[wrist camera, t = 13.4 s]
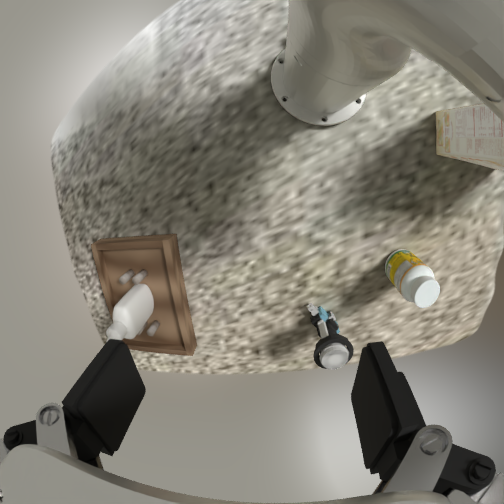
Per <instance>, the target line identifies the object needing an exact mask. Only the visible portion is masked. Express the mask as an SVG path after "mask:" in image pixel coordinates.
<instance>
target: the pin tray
mask: <svg viewBox="0 0 504 504" xmlns="http://www.w3.org/2000/svg"><path fill="white" fill-rule="evenodd" d="M91 248H92V252H93V257H94V261H95V265H96V269H97V272H98V276H99V280H100V283H101V287H102V290H103V293H104V297H105V300H106V303H107V306H108V309H109V312H110V315H111V318H112V321H113V310H114V307H115V305H116V304H117V303H118V302H119V301H120V300H121V298H122V297H123V296H124V295H125V294H126V293H127V292H128V291H129V290H130V289H131V288H132V287H133V286H134V285H138V284H146V285H147V286H148V287H149V289H150V291H151V293H152V296H153V300H154V309H153V313H152V314H151V316H150V317H149V319H148V320H147V321H146V323H145V324H144V326H143V327H142V328H141V330H140V331H139V333H138V334H137V335H136V336H135V338H133V339H126V338H123V340H122V341H124V343H125V344H126V345H127V346H128V348H129V349H132V350H139V351H147V352H156V353H165V354H176V355H188V356H193V354H194V351H195V349H196V346H197V342H196V338H195V333H194V329H193V324H192V319H191V315H190V310H189V305H188V300H187V294H186V289H185V284H184V278H183V272H182V266H181V260H180V254H179V248H178V241H177V234H164V235H148V236H133V237H118V238H105V239H100V240H98V241H96V242H94V243H93V244H91Z"/></svg>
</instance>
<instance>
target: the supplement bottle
mask: <svg viewBox="0 0 504 504" xmlns="http://www.w3.org/2000/svg"><path fill="white" fill-rule="evenodd" d="M385 273H386V276H387V277H388V279H389V280H390V281H391V282H392V283H393V285H394V286H395V287H396V288H397V290H398V291H399V292H400V293H401V295H402V296H403V297H404V298H405V299H406V300H407V301H409V302H414V303H415V304H416V305H417V306H418V307H420V308H426V307H429V306H430V305H432V304H433V303H434V302H435V301H436V299H437V298H438V296H439V293H440V286H439V284H438V282H437V281H436V280H435V278H434V274H433V272H432V270H431V269H430V268H429V267H428V266H427V265H426V264H424V263H423V262H422V261H421V260H420V259H418V258H417V257H416V256H415V255H414V254H412V253H411V252H410V251H408V250H405V249H400V250H396V251H394V252H393V253H392V254H391V255H390V256H389V257H388V259H387V260H386V263H385Z"/></svg>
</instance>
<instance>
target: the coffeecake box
mask: <svg viewBox="0 0 504 504" xmlns="http://www.w3.org/2000/svg"><path fill="white" fill-rule="evenodd" d="M435 114H436V129H437V137H436V154H437V155H441V156H445V157H449V158H453V159H458V160H462V161H466V162H470V163H474V164H478V165H481V166H485V167H489V168H492V169H498V170H504V122H503V121H502V120H501V119H500V118H499V117H498V116H497V115H496V114H494V113H493V112H492V111H491V110H490V109H489V108H488V107H487V106H486V105H485V104H478V105H472V106H465V107H460V108H454V109H448V110H443V111H437V112H435Z"/></svg>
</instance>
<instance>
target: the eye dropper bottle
mask: <svg viewBox="0 0 504 504" xmlns="http://www.w3.org/2000/svg"><path fill="white" fill-rule="evenodd" d="M153 309H154V300H153V296H152V293H151V291H150V289H149V287H148V286H147V285H146V284H138V285H134V286H133V287H132V288H131V289H130V290H129V291H128V292H127V293H126V294H125V295H124V296H123V297H122V298H121V300H120V301H119V302H118V303H117V304H116V305H115V307H114V310H113V323H112V324H111V326H110V327H109V328H108V329H107V331H106V335H107V337H108V339H107V341H108V340H109V339H117V340H123V338H126V339H133V338H135V336H136V335H137V334H138V333H139V331H140V330H141V328H142V327H143V326H144V324H145V323H146V321H147V320H148V319H149V317H150V316H151V314H152V313H153ZM107 341H106V342H107Z"/></svg>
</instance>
